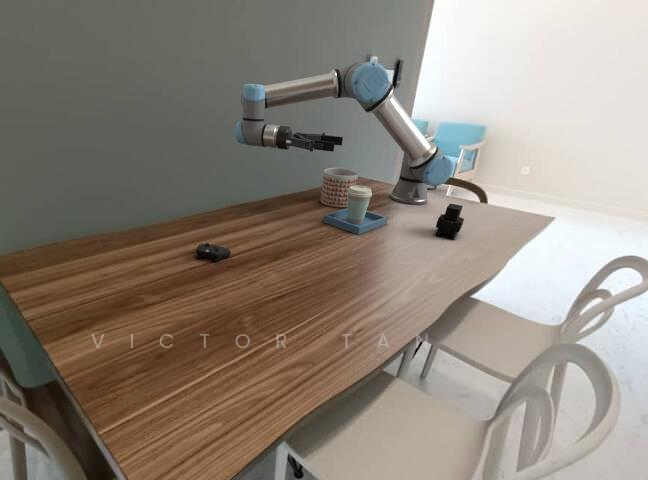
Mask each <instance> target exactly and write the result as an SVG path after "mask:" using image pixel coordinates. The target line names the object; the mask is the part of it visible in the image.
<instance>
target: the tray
mask: <svg viewBox="0 0 648 480" xmlns="http://www.w3.org/2000/svg"><path fill="white" fill-rule="evenodd" d="M322 216H323V217H322V223H324V224H328V225H330V226H333V227H336V228H338V229H341V230H344V231H347V232H349V233H352V234H355V235H357V236H359V235H361V234H364V233H367V232H370V231H373V230H376V229H378V228H380V227H383V226H386V225H387V222H388V216H385V215H381V214H378V213H375V212H372V211H370V210H369V211H368V210H367V211H366V214H365V217H364V220H363V223H362V224H352V223H349V222H347V208H341V209H339V210H335V211H333V212H329V213H326V214H325V213H324V214H323V215H322Z"/></svg>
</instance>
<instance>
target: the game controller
mask: <svg viewBox="0 0 648 480" xmlns="http://www.w3.org/2000/svg"><path fill="white" fill-rule="evenodd" d="M195 253H196V258H197V259H201V258H202V257H206V258H211V259H213V261H214V262H219V261H220V260H221V259H222V258H227V257H229V256H230V255H231V254H232V252H231V250H230V249H229V248H227V247H224V246H220V245H214V244H210V243H209V242H206V243H199V245H198V246H196V249H195Z"/></svg>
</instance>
